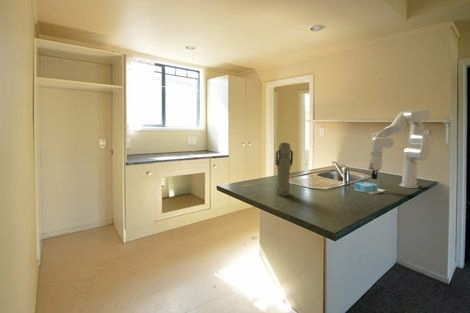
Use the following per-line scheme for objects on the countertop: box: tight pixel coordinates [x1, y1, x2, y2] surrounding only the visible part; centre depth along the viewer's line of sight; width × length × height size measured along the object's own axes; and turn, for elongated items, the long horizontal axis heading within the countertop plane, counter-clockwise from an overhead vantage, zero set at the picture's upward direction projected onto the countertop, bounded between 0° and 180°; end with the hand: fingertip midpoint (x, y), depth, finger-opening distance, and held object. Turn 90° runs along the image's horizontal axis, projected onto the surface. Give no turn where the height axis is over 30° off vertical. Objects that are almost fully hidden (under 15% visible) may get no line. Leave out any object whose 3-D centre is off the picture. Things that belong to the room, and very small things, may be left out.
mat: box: [354, 188, 386, 195], centre depth 198 cm, size 18×13×1 cm
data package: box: [353, 181, 379, 193], centre depth 198 cm, size 12×4×12 cm
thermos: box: [275, 142, 294, 197], centre depth 182 cm, size 9×12×35 cm
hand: (374, 178), depth 200 cm, fingers closed
